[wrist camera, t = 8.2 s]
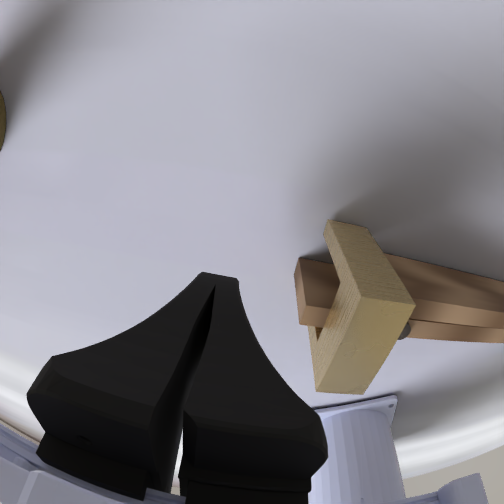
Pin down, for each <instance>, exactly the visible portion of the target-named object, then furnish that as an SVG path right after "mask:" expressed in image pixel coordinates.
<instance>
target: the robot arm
mask: <svg viewBox="0 0 504 504" xmlns="http://www.w3.org/2000/svg"><path fill="white" fill-rule="evenodd" d="M27 401H28V404H29V406H30V408H31V410H32V412H33V414H34V415H35V417H36V418H37V420H38V421H39V423H40V424H41V426H42V428H43V429H44V430H45V434H44V436H43V438H42V440H41V442H40V445H37V444H35V443H33V442H31V441H29V440H28V439H26V438H24V437H22V436H20V435H19V434H17V433H15V432H14V431H12V430H10V429H9V428H7V427H5V426H4V425H2V424H0V504H308V498H309V504H488V500H487V497H486V493H485V489H484V486H483V483H482V480H481V476H480V473H475V474H472V475H469V476H466V477H463V478H459V479H456V480H453V481H451V482H449V483H448V484H446V485H444V486H443V487H442V488H440V489H439V490H438V491H436V492H432V493H428V494H424V495H420V496H415V497H410V498H406V497H405V490H404V485H403V481H402V476H401V471H400V467H399V462H398V458H397V453H396V449H395V445H394V441H393V437H392V433H391V425H392V421H393V417H394V414H395V410H396V406H397V401H398V399H397V396H396V395H391V396H387V397H382V398H378V399H373V400H369V401H364V402H359V403H353V404H348V405H342V406H337V407H330V408H324V409H317V410H313V409H312V408H311V407H310V406H308V405H307V404H306V403H305V402H304V401H303V400H302V399H301V398H300V397H299V396H297V394H296V393H295V392H294V391H293V390H292V389H291V388H290V387H289V386H288V385H287V383H286V382H285V381H284V379H283V378H282V377H281V376H280V374H279V373H278V372H277V370H276V369H275V368H274V367H273V365H272V364H271V362H270V361H269V359H268V358H267V356H266V355H265V353H264V351H263V349H262V348H261V346H260V344H259V342H258V341H257V339H256V337H255V335H254V332H253V330H252V328H251V326H250V323H249V321H248V318H247V316H246V313H245V310H244V307H243V303H242V300H241V296H240V291H239V281H238V280H237V278H233V277H227V276H222V275H217V274H211V273H206V272H201V273H200V274H199V275H198V276H197V277H196V278H195V279H194V280H193V281H192V282H191V283H190V284H189V285H188V286H187V287H186V288H185V289H184V290H183V291H182V292H180V293H179V294H178V295H177V296H176V297H175V298H174V299H172V300H171V301H170V302H169V303H168V304H166V305H165V306H164V307H162V308H161V309H160V310H158V311H157V312H156V313H154V314H153V315H151V316H150V317H149V318H147V319H145V320H144V321H142V322H141V323H139V324H137V325H136V326H134V327H132V328H130V329H128V330H126V331H124V332H122V333H120V334H118V335H116V336H114V337H112V338H110V339H107V340H105V341H102V342H100V343H97V344H94V345H91V346H88V347H85V348H82V349H79V350H75V351H71V352H67V353H64V354H60V355H55V356H52V357H51V358H50V359H49V361H48V362H47V363H46V364H45V366H44V367H43V368H42V370H41V371H40V373H39V375H38V376H37V378H36V379H35V381H34V382H33V384H32V386H31V387H30V389H29V391H28V392H27ZM182 429H183V455H182V460H181V465H180V469H179V474H178V478H179V482H180V496H179V495H175V494H171V487H172V482H173V476H174V470H175V465H176V459H177V454H178V449H179V444H180V439H181V434H182Z"/></svg>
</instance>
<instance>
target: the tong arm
mask: <svg viewBox="0 0 504 504" xmlns="http://www.w3.org/2000/svg"><path fill="white" fill-rule="evenodd" d="M384 255H385V256H386V258H387V259H388V261H389V262H390V264H391V266H392V267H393V269H394V270H395V272H396V273H397V275H398V276H399V278H400V280H401V281H402V283H403V284H404V286H405V288H406V289H407V291H408V293H409V294H410V296H411V298H412V299H413V301H414V303H415V304H416V306H415V308H414V310H413V312H412V314H411V316H410V317H409V318H412V319H420V320H428V321H435V322H444V323H452V324H460V325H469V326H478V327H488V328H498V329H504V282H501V281H497V280H494V279H490V278H486V277H482V276H478V275H474V274H470V273H466V272H462V271H458V270H454V269H450V268H445V267H441V266H437V265H433V264H429V263H425V262H420V261H416V260H412V259H408V258H403V257H399V256H394V255H390V254H386V253H384Z"/></svg>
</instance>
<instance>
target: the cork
mask: <svg viewBox="0 0 504 504" xmlns="http://www.w3.org/2000/svg"><path fill="white" fill-rule="evenodd" d="M5 129H6V110H5V104H4V99H3V96H2V94H1V92H0V150H1V147H2V144H3V141H4V135H5Z"/></svg>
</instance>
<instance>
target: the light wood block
mask: <svg viewBox="0 0 504 504" xmlns="http://www.w3.org/2000/svg"><path fill="white" fill-rule="evenodd" d="M323 235H324V238H325V241H326V243H327V246H328V249H329V251H330V254H331V257H332V260H333V263H334V265H335V268H336V271H337V274H338V277H339V280H340V286H339V289H338V291H337V294H336V297H335V299H334V302H333V304H332V307H331V309H330V312H329V315H328V317H327V320H326V322H325V325H324V327H323V328H321V327H314V326H308V331H309V339H310V347H311V355H312V363H313V371H314V380H315V389H316V392H325V393H340V394H360V395H363V394H364V392H365V391H366V389H367V388H368V386H369V385H370V383H371V382H372V380H373V379H374V377H375V376H376V374H377V372H378V371H379V369H380V368H381V366H382V365H383V363H384V361H385V360H386V358H387V356H388V355H389V353H390V351H391V350H392V348H393V346H394V344H395V343H396V341H397V339H398V338H399V336H400V334H401V332H402V330H403V329H404V327H405V325H406V323H407V321H408V319H409V317H410V316H411V314H412V312H413V310H414V308H415V306H416V304H415V303H414V301H413V299H412V298H411V296H410V294H409V293H408V291H407V289H406V288H405V286H404V284H403V283H402V281H401V280H400V278H399V276H398V275H397V273H396V272H395V270H394V269H393V267H392V266H391V264H390V262H389V261H388V259H387V258H386V256H385V255H384V253H383V252H382V250H381V249H380V247H379V246H378V244H377V243H376V241H375V240H374V238H373V237H372V236H371V234H370V233H369V231H368V230H367V228H365V227H361V226H356V225H352V224H347V223H343V222H338V221H334V220H329V219H328V220H327V223H326V227H325V230H324V234H323Z"/></svg>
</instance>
